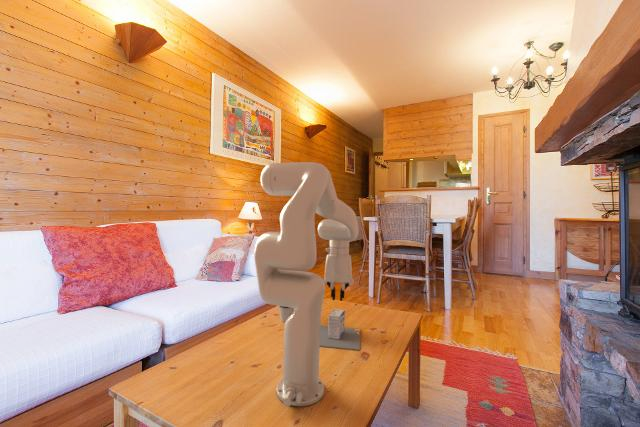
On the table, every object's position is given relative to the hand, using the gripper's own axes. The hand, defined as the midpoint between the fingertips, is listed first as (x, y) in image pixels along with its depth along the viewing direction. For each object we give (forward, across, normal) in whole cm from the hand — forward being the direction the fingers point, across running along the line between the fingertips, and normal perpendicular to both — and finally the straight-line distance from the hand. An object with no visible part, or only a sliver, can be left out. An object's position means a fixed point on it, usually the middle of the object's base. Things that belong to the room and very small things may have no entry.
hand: (337, 299), depth 112 cm
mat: (+14, -2, -1) cm, 14 cm away
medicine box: (+14, 0, 0) cm, 14 cm away
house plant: (+14, -22, +10) cm, 28 cm away
